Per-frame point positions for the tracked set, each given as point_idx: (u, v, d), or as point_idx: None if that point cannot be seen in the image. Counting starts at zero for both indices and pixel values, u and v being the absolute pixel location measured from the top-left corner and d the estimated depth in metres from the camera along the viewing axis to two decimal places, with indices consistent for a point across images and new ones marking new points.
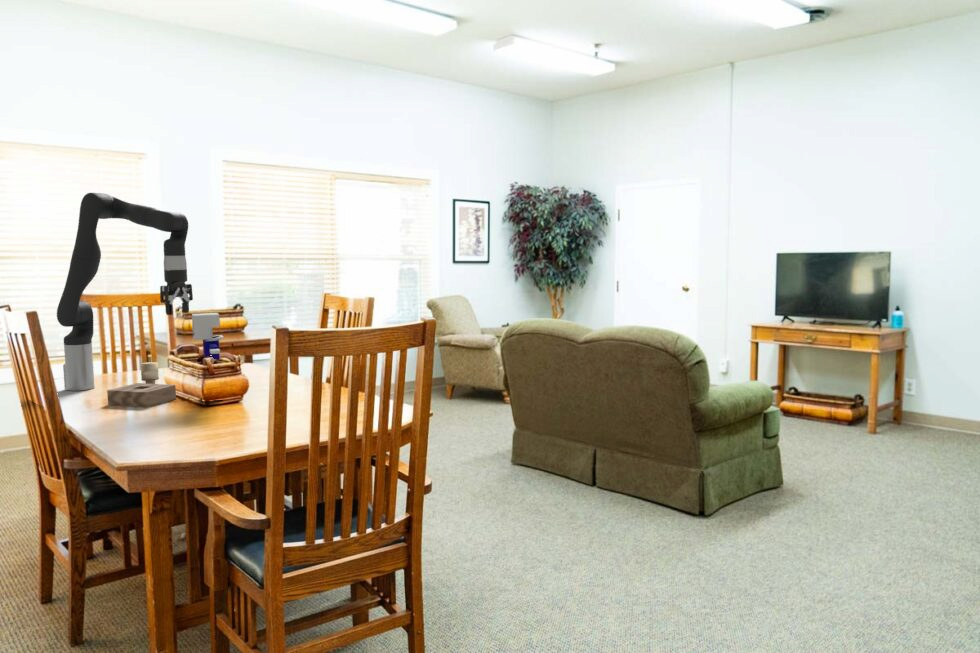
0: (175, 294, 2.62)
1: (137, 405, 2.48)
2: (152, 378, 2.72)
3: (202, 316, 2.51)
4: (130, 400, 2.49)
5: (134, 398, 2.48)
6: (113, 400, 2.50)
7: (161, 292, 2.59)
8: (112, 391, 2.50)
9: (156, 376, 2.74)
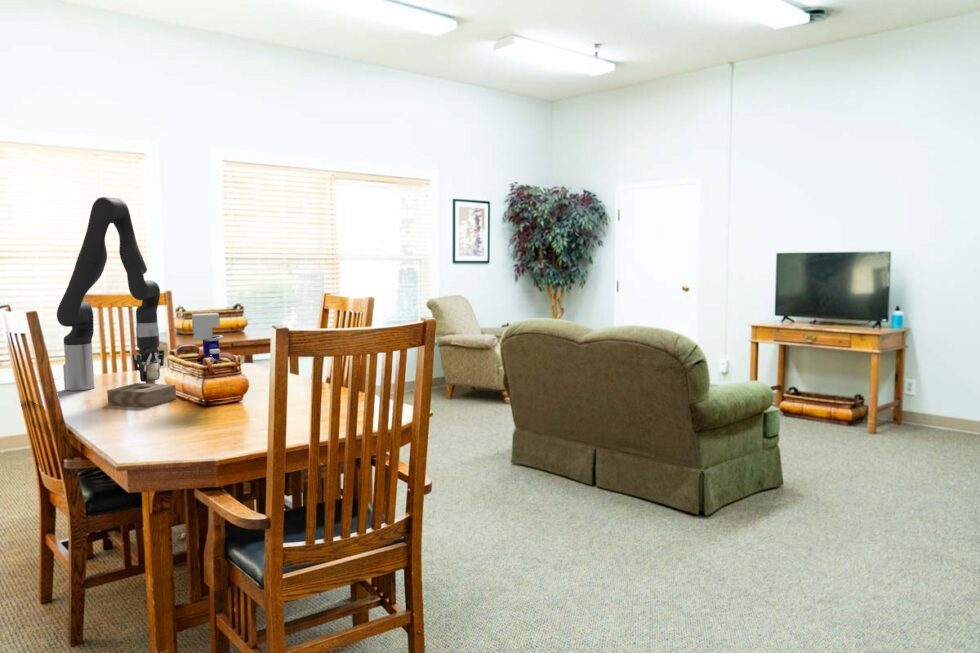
0: (148, 360, 2.71)
1: (137, 405, 2.48)
2: (152, 378, 2.72)
3: (202, 316, 2.51)
4: (130, 400, 2.49)
5: (134, 398, 2.48)
6: (113, 400, 2.50)
7: (134, 361, 2.68)
8: (112, 391, 2.50)
9: (156, 376, 2.74)
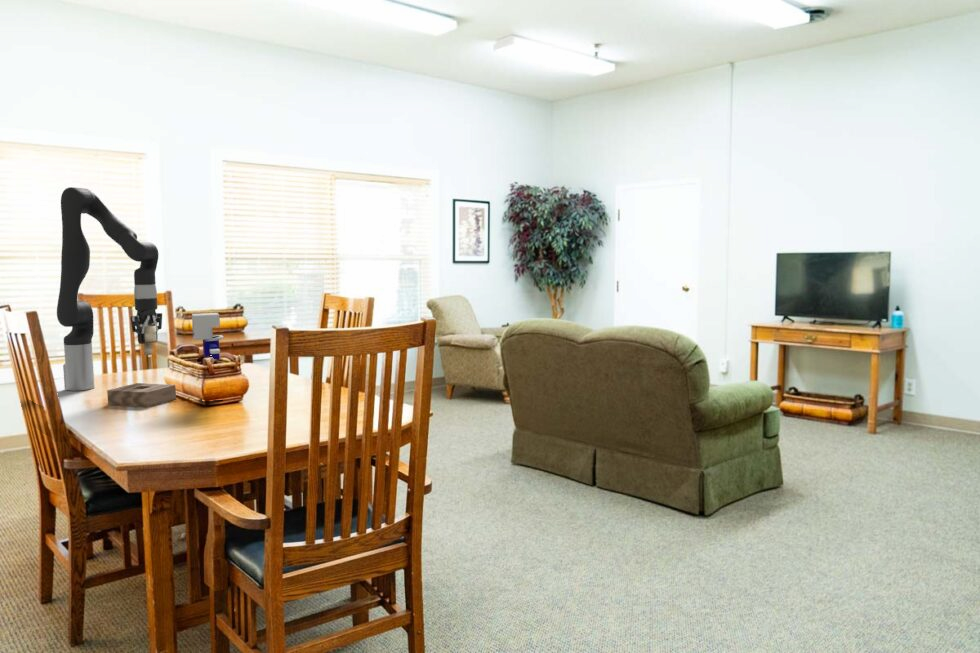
0: (146, 323, 2.70)
1: (137, 405, 2.48)
2: (150, 340, 2.71)
3: (202, 316, 2.51)
4: (130, 400, 2.49)
5: (134, 398, 2.48)
6: (113, 400, 2.50)
7: (132, 322, 2.66)
8: (112, 391, 2.50)
9: (154, 339, 2.72)
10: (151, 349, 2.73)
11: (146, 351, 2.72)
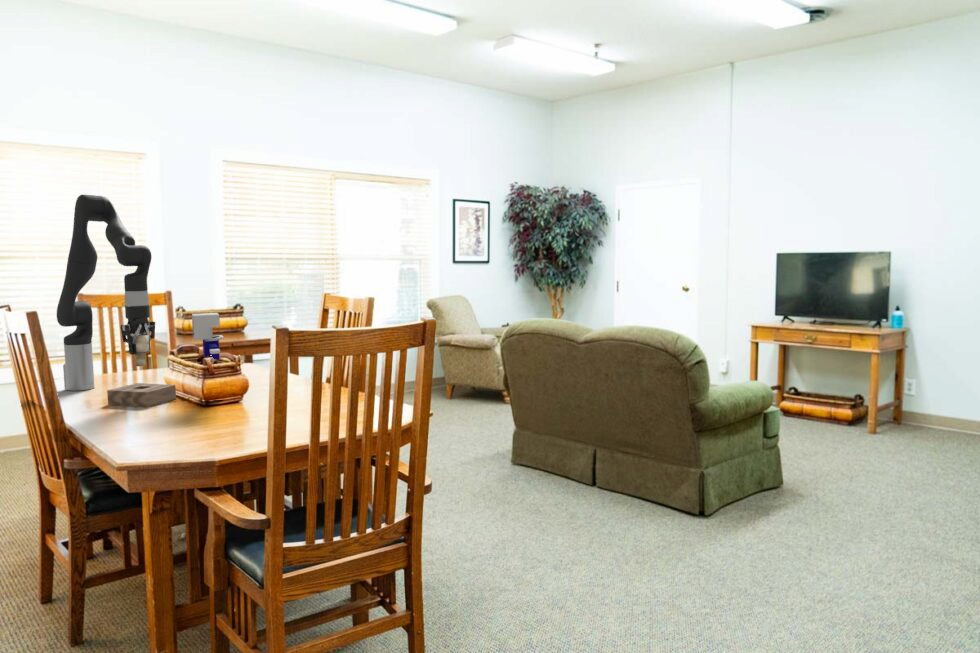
0: (137, 332, 2.51)
1: (137, 405, 2.48)
2: (142, 351, 2.52)
3: (202, 316, 2.51)
4: (130, 400, 2.49)
5: (134, 398, 2.48)
6: (113, 400, 2.50)
7: (122, 332, 2.47)
8: (112, 391, 2.50)
9: (146, 349, 2.53)
10: (143, 360, 2.54)
11: (138, 362, 2.53)
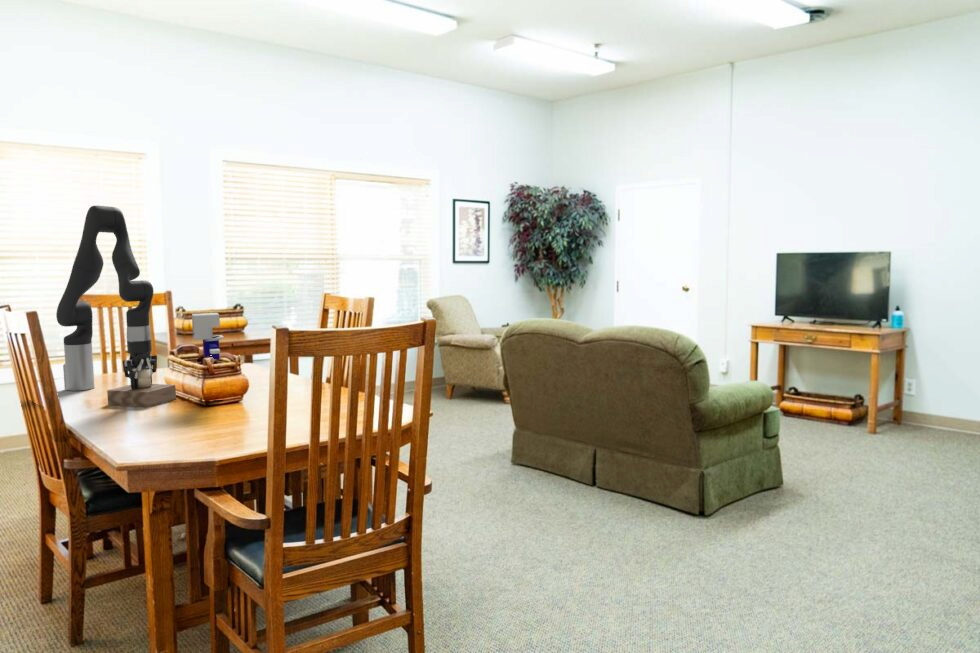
0: (139, 367, 2.52)
1: (137, 405, 2.48)
2: (144, 386, 2.53)
3: (202, 316, 2.51)
4: (130, 400, 2.49)
5: (134, 398, 2.48)
6: (113, 400, 2.50)
7: (124, 367, 2.48)
8: (112, 391, 2.50)
9: (148, 383, 2.54)
10: None
11: None
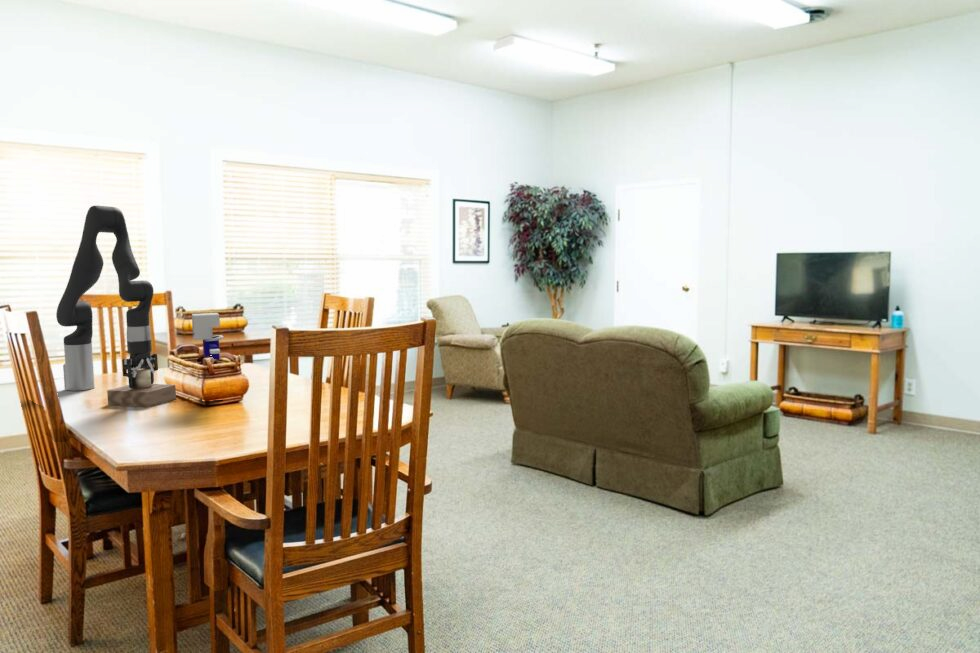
0: (138, 366, 2.51)
1: (137, 405, 2.48)
2: (144, 386, 2.53)
3: (202, 316, 2.51)
4: (130, 400, 2.49)
5: (134, 398, 2.48)
6: (113, 400, 2.50)
7: (123, 365, 2.48)
8: (112, 391, 2.50)
9: (148, 384, 2.54)
10: None
11: None
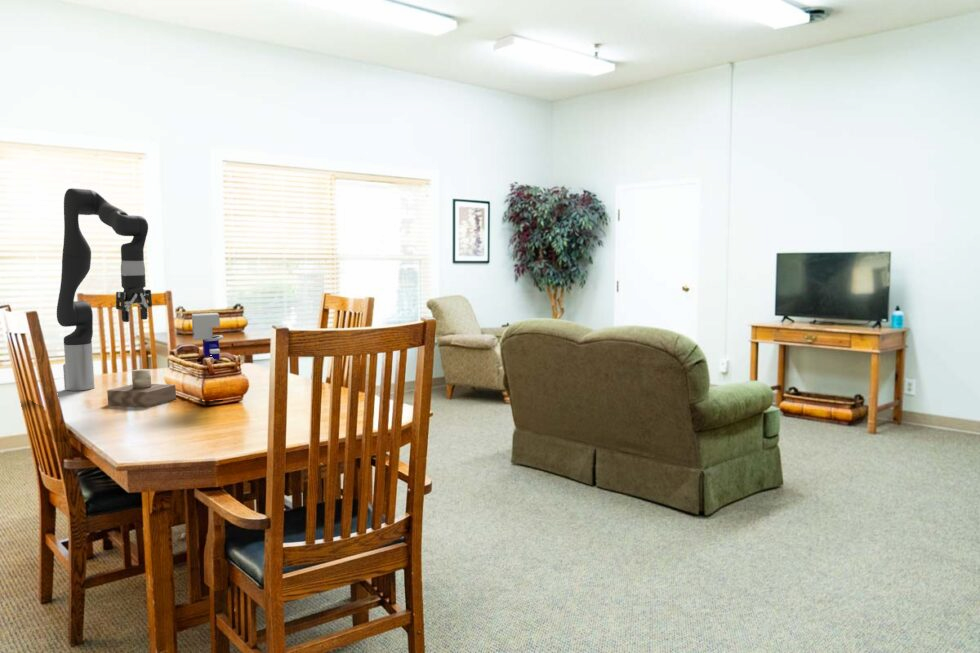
0: (132, 300, 2.54)
1: (137, 405, 2.48)
2: (144, 386, 2.53)
3: (202, 316, 2.51)
4: (130, 400, 2.49)
5: (134, 398, 2.48)
6: (113, 400, 2.50)
7: (117, 298, 2.50)
8: (112, 391, 2.50)
9: (148, 384, 2.54)
10: None
11: None
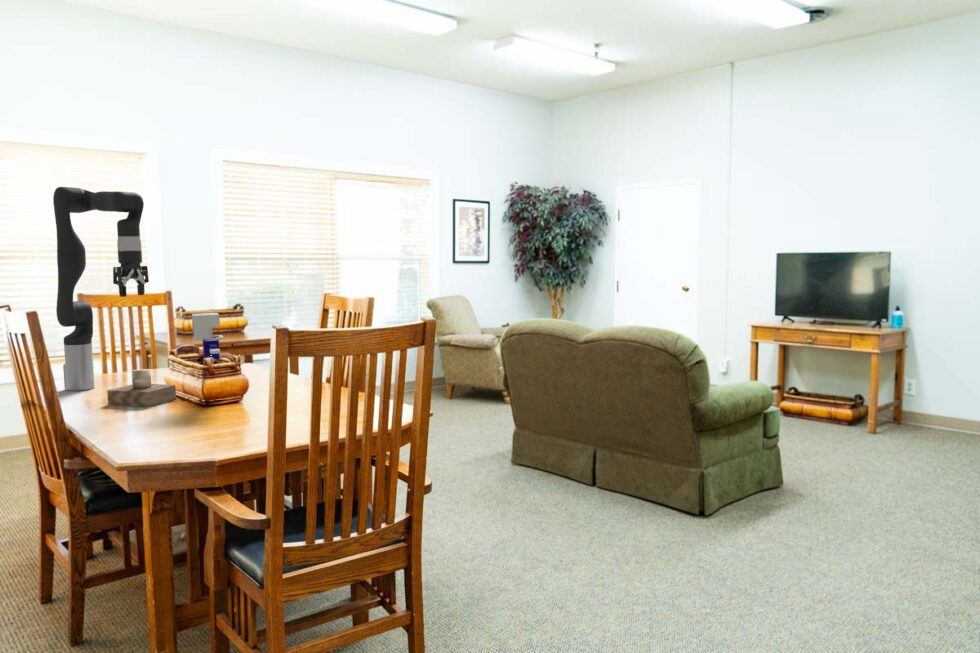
0: (129, 275, 2.57)
1: (137, 405, 2.48)
2: (144, 386, 2.53)
3: (202, 316, 2.51)
4: (130, 400, 2.49)
5: (134, 398, 2.48)
6: (113, 400, 2.50)
7: (114, 273, 2.54)
8: (112, 391, 2.50)
9: (148, 384, 2.54)
10: None
11: None
